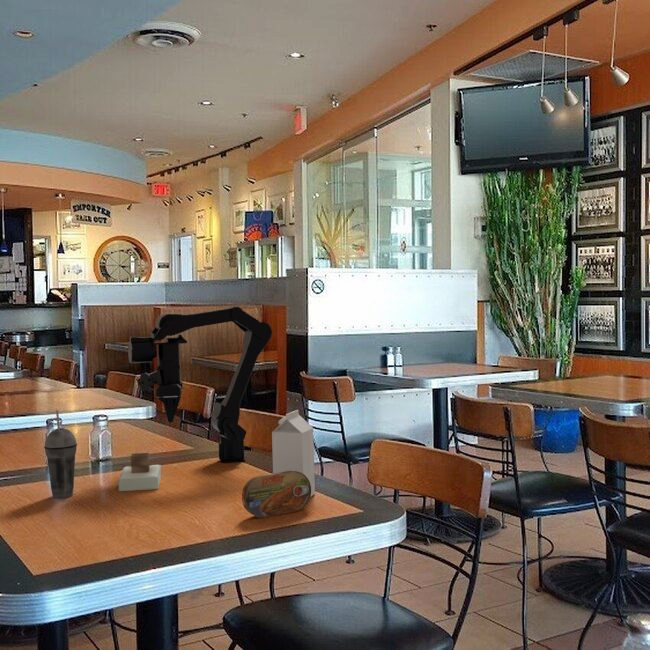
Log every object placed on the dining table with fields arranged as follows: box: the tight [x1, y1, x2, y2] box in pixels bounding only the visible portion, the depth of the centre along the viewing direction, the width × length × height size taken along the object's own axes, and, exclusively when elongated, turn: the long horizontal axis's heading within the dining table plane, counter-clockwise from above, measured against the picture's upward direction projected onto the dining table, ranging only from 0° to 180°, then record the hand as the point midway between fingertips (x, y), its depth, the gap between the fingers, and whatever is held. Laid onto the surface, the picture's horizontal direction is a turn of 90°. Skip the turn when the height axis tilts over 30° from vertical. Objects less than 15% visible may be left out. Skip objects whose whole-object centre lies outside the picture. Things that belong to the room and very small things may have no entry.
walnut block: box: [130, 452, 150, 473], centre depth 196 cm, size 4×4×4 cm
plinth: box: [117, 464, 162, 492], centre depth 196 cm, size 9×14×3 cm, turn 9°
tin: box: [241, 471, 312, 519], centre depth 166 cm, size 15×3×8 cm, turn 120°
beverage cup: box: [43, 409, 78, 499], centre depth 185 cm, size 7×7×20 cm
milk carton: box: [271, 409, 316, 498], centre depth 178 cm, size 7×7×19 cm
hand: (171, 419), depth 214 cm, fingers open, 9 cm apart
